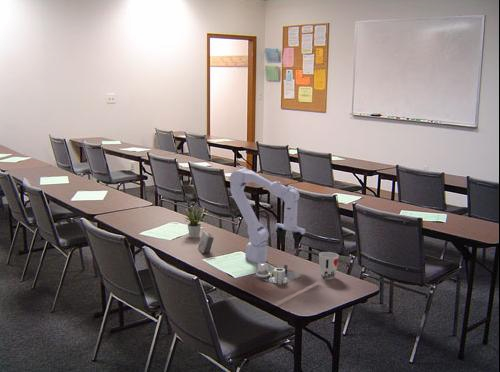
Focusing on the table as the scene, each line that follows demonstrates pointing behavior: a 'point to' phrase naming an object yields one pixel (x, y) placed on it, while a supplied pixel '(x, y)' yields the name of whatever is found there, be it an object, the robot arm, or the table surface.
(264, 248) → the robot arm
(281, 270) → the gear
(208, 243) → the electrical switch
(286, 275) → the carrier
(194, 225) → the house plant
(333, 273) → the cup
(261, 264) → the silver rounded piece
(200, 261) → the table surface
